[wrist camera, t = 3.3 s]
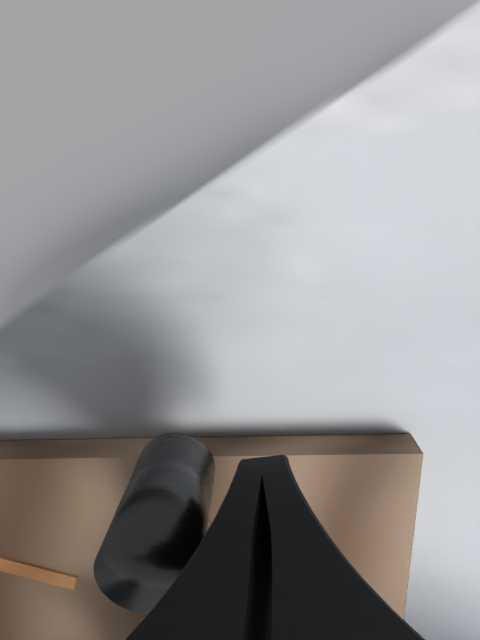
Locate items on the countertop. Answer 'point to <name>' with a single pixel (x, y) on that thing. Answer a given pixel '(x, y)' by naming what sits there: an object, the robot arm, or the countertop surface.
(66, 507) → the wooden board
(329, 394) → the countertop surface
